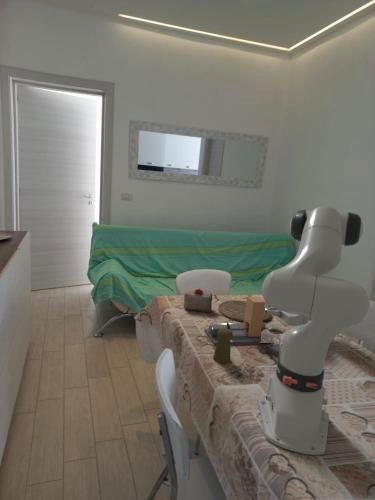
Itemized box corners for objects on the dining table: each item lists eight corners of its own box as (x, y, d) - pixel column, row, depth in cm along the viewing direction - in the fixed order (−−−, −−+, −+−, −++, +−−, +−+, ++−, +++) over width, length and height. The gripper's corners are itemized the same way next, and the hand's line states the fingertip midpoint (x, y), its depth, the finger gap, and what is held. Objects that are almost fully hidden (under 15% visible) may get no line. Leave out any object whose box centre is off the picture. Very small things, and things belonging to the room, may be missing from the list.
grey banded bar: (261, 331, 142) (263, 320, 141) (266, 335, 138) (267, 324, 137) (208, 333, 135) (209, 321, 134) (211, 337, 132) (213, 325, 131)
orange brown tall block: (253, 329, 142) (258, 296, 139) (260, 336, 136) (265, 302, 133) (242, 330, 140) (247, 296, 138) (248, 336, 135) (253, 302, 132)
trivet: (233, 300, 182) (233, 296, 181) (278, 314, 168) (279, 310, 167) (208, 312, 162) (208, 308, 161) (257, 329, 148) (257, 325, 147)
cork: (229, 365, 115) (233, 335, 113) (212, 361, 116) (215, 331, 114) (231, 356, 121) (235, 327, 119) (214, 353, 122) (217, 324, 120)
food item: (181, 310, 160) (183, 290, 158) (183, 304, 167) (185, 285, 165) (210, 314, 159) (213, 294, 157) (211, 308, 166) (213, 288, 164)
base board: (257, 329, 146) (257, 327, 146) (271, 343, 135) (271, 340, 134) (204, 331, 139) (204, 328, 139) (214, 345, 128) (214, 342, 128)
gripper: (283, 295, 151) (255, 295, 147) (311, 313, 131) (279, 313, 128) (281, 308, 152) (253, 309, 148) (309, 328, 133) (277, 329, 129)
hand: (265, 311), depth 138 cm, fingers closed
